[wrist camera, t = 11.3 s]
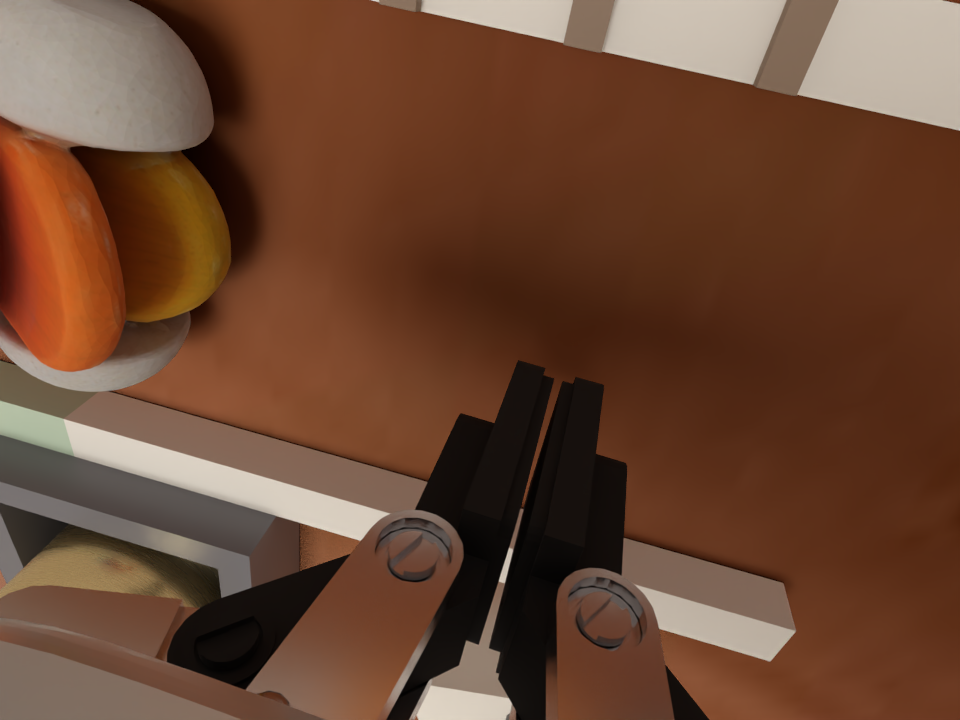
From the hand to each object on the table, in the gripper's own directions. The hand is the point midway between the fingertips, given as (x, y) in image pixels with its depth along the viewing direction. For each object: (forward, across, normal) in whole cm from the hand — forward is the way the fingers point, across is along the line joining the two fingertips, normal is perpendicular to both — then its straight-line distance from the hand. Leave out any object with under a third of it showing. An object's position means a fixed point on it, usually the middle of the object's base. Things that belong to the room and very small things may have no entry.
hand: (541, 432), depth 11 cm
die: (+4, -1, +10) cm, 11 cm away
